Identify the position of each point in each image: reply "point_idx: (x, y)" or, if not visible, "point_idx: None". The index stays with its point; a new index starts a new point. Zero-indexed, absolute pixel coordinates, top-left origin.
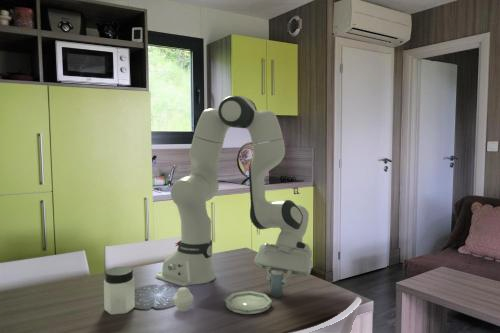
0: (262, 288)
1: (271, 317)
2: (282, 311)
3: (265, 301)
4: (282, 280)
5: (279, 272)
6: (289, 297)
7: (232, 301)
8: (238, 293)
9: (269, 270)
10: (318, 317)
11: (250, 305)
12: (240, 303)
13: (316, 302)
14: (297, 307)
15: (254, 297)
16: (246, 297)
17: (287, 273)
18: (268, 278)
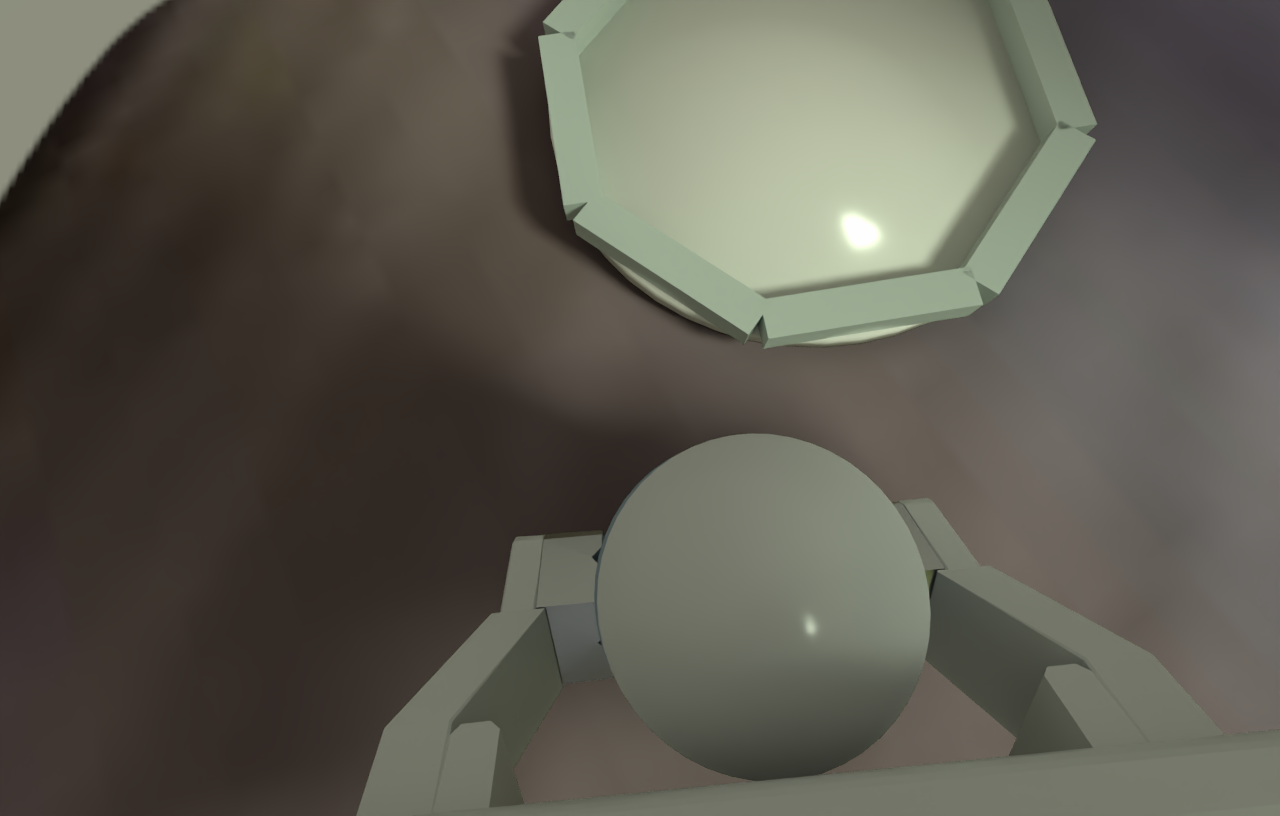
0: None
1: (451, 42)
2: (412, 199)
3: (654, 216)
4: (575, 551)
5: (652, 552)
6: None
7: (959, 26)
8: (1044, 164)
9: (1055, 691)
10: (17, 282)
11: (735, 51)
12: (854, 32)
13: (125, 649)
14: (302, 374)
15: (833, 238)
16: (911, 188)
17: (490, 733)
18: None
